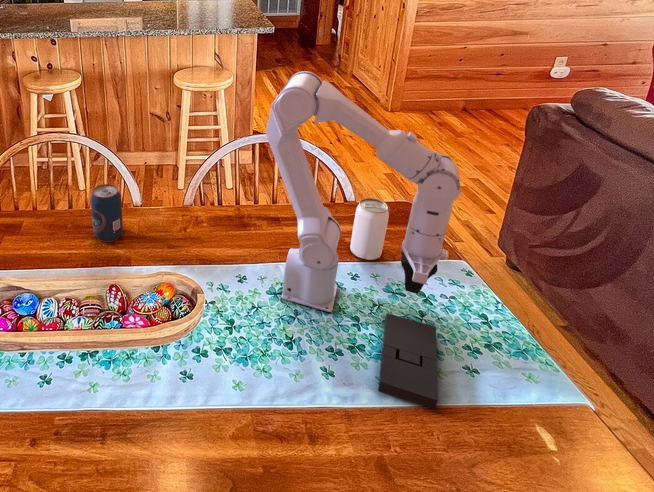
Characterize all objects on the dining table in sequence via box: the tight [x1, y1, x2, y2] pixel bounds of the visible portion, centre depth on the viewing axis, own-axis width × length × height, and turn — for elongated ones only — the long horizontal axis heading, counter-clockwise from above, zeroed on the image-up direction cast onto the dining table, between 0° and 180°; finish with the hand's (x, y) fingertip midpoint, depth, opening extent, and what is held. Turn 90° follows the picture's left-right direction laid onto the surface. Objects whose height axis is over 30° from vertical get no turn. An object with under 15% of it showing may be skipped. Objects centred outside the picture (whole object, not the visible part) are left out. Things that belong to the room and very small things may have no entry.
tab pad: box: [381, 312, 438, 367], centre depth 87 cm, size 8×10×2 cm
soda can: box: [90, 183, 124, 243], centre depth 116 cm, size 7×7×12 cm
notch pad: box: [377, 344, 439, 410], centre depth 81 cm, size 8×8×2 cm
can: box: [349, 197, 390, 261], centre depth 109 cm, size 6×6×12 cm
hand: (411, 290), depth 90 cm, fingers closed
